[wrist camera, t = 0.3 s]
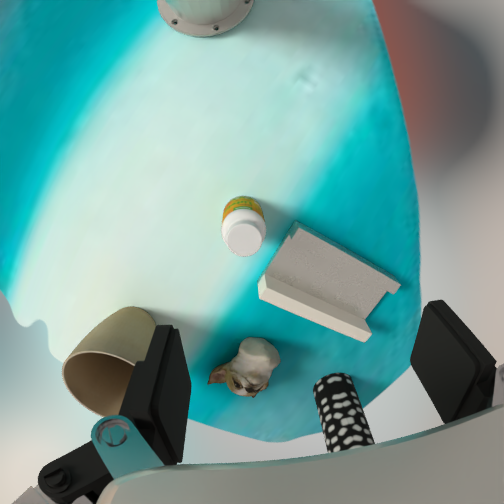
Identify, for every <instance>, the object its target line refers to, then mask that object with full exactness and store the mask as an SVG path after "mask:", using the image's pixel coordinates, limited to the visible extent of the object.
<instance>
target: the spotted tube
mask: <svg viewBox="0 0 504 504" xmlns="http://www.w3.org/2000/svg"><path fill="white" fill-rule="evenodd" d="M313 393H314V397H315V401H316V405H317V409H318V413H319V417H320V421H321V425H322V430H323V434H324V438H325V442H326V446H327V451H328V453H333V452H339V451H344V450H349V449H354V448H359V447H364V446H369V445H373V444H375V442H374V440H373V437H372V434H371V431H370V428H369V425H368V422H367V420H366V417H365V414H364V411H363V409H362V406H361V403H360V400H359V398H358V395H357V392H356V389H355V387H354V384H353V381H352V379H351V377H350V376H349V375H347V374H344V373H334V374H330V375H327V376H325V377H323V378H321V379H320V380H319V381H318V382H317V383H316V384H315V386H314V388H313Z"/></svg>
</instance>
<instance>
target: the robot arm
mask: <svg viewBox="0 0 504 504" xmlns="http://www.w3.org/2000/svg"><path fill="white" fill-rule="evenodd" d="M253 1H254V0H157V5H158V10H159V12H160V14H161V17H162V18H163V19H164V21H165V22H166V23H167V24H168V25H169V26H170V27H171V28H173V29H174V30H176V31H178V32H180V33H182V34H185V35H189V36H195V37H207V36H214V35H218V34H222V33H224V32H226V31H229V30H231V29H232V28H234V27H235V26H237V25H238V24H239V23H240V22H242V21H243V20H244V19H245V17H246V16H247V15H248V14H249V12H250V10H251V8H252V5H253ZM245 2H248V4H245ZM175 22H177V24H176V25H174V23H175ZM215 28H219V30H217V31H216V30H215ZM410 362H411V366H412V367H413V369H414V371H415V372H416V374H417V376H418V378H419V379H420V381H421V383H422V385H423V386H424V388H425V390H426V391H427V393H428V395H429V397H430V398H431V400H432V402H433V404H434V406H435V408H436V410H437V411H438V413H439V415H440V417H441V419H442V421H443V422H444V423H445V424H444V425H441V426H438V427H435V428H432V429H429V430H426V431H422V432H419V433H416V434H412V435H409V436H405V437H401V438H398V439H394V440H390V441H386V442H382V443H377V444H373V445H369V446H364V447H359V448H354V449H349V450H344V451H339V452H333V453H327V454H320V455H314V456H306V457H299V458H290V459H281V460H270V461H256V462H241V463H217V464H181V465H177V463H181V462H182V459H183V450H184V442H185V433H186V425H187V418H188V410H189V403H190V395H191V380H190V376H189V372H188V368H187V364H186V360H185V355H184V351H183V347H182V343H181V338H180V334H179V330H178V329H174V328H173V326H172V325H157V326H156V327H155V330H154V333H153V336H152V339H151V342H150V345H149V348H148V351H147V354H146V357H145V360H144V361H137V362H136V364H135V366H134V369H133V372H132V375H131V378H130V381H129V383H128V386H127V389H126V392H125V395H124V398H123V401H122V405H121V408H120V411H119V414H118V415H110V416H107V417H104V418H102V419H100V420H99V421H98V422H97V423H96V424H95V425H94V427H93V429H92V431H91V438H92V440H91V441H90V442H88V443H86V444H84V445H82V446H81V447H79V448H77V449H75V450H73V451H71V452H70V453H68V454H66V455H64V456H62V457H60V458H58V459H56V460H54V461H52V462H50V463H48V464H47V465H45V466H44V467H43V468H42V470H41V471H40V473H39V476H38V485H37V486H36V487H35V488H33V487H32V486H31V487H30V488H28V489H27V490H26V491H25V492H24V493H23V494H22V495H21V496H20V497H19V498H18V499H17V500H16V501H14V502H13V503H12V504H504V364H502V365H500V366H499V367H498V368H496V367H495V364H496V360H495V359H494V358H493V356H492V355H491V354H490V353H489V352H488V351H487V349H486V348H485V347H484V346H483V345H482V343H481V342H480V341H479V340H478V339H477V338H476V336H475V335H474V334H473V333H472V332H471V330H470V329H469V328H468V327H467V326H466V325H465V324H464V323H463V322H462V320H461V319H460V318H459V317H458V316H457V315H456V314H455V313H454V311H453V310H452V309H451V308H450V307H449V306H448V305H447V304H446V303H445V302H444V301H443V300H437V301H430V302H428V304H427V306H425V307H424V310H423V314H422V318H421V322H420V325H419V329H418V333H417V337H416V340H415V344H414V347H413V351H412V354H411V358H410Z"/></svg>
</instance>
